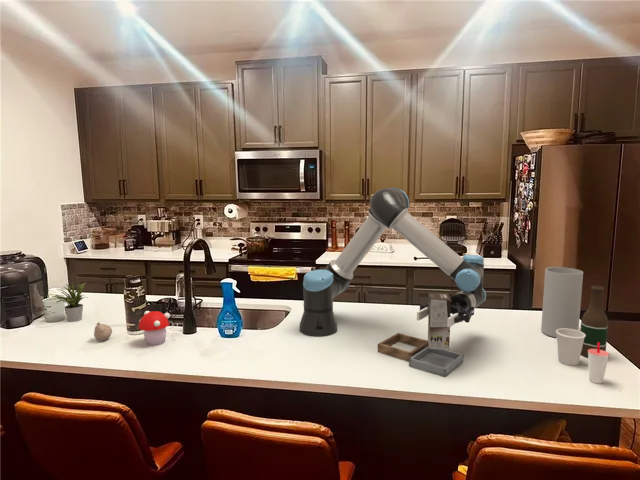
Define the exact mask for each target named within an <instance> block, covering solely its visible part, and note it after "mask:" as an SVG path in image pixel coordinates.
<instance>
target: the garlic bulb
mask: <svg viewBox="0 0 640 480" xmlns="http://www.w3.org/2000/svg"><path fill="white" fill-rule="evenodd" d="M112 333H113V329H112V327H111V326H110V325H107V324H105V323H101V322H97V323H96V324H95V327H94V332H93V337H94V339H96V340H98V341H100V342H101V341H102V342H104V341H107V340H108V339H109V338H110V337H112Z"/></svg>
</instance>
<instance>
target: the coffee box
mask: <svg viewBox="0 0 640 480" xmlns="http://www.w3.org/2000/svg"><path fill="white" fill-rule="evenodd" d="M450 297H451V296H450V294H449V293H448V292H428V303H429V308H428V316H427V318H428V319H427V320H428V323H427V327H428V328H427V340H428V343H429V349H439V350H448V351H450V344H451V342H450V340H451V339H450V337H451V327H447V318H449V317H451V316H452V314H451V299H450Z"/></svg>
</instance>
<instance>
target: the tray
mask: <svg viewBox="0 0 640 480" xmlns="http://www.w3.org/2000/svg"><path fill="white" fill-rule="evenodd" d="M464 356H465V355H464V354H462V353H459V352H455V351H451V350H439V349H429V346H428V347H426V348H425V349H423V350H422V351H420V352H419V353H417V354H416V355H414V356H413V357H411V358H409V361H408V367H410V368H414V369H418V370H420V371H424V372H426V373H430V374H433V375H438V376H440V377H444V378H446V377H447V376H448V375H450V373H452V372H453V371H454V370H456V369H457V368H458V367H459V366H460V365H462V364H463V363H464V358H465V357H464Z"/></svg>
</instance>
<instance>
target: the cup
mask: <svg viewBox="0 0 640 480" xmlns="http://www.w3.org/2000/svg"><path fill="white" fill-rule="evenodd" d="M609 356H610V353H609V352H608V351H607V350H606V351H603V350H600V342H598V343H597V349H588V358H587V359H588V361H587V362H588V380H589V381H590V382H592V383H595V384H597V385H598V384H603V383H604V377H605V373H606V370H607V365H608V361H609Z"/></svg>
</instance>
